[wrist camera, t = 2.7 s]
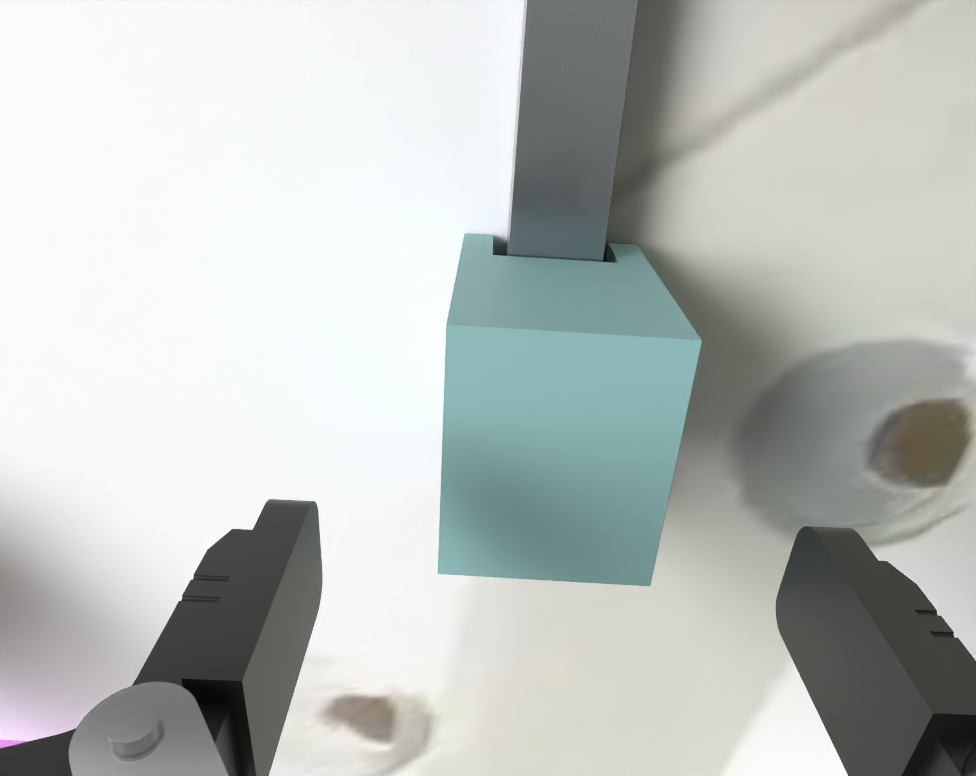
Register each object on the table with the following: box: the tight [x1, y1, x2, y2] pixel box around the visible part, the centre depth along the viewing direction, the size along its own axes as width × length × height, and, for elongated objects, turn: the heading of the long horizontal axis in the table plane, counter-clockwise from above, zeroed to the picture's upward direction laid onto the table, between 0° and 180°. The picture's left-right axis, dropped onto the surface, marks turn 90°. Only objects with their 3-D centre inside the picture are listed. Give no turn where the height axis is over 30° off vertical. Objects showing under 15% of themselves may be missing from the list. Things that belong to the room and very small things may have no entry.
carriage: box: [438, 234, 702, 586], centre depth 17 cm, size 5×6×7 cm
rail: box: [506, 0, 638, 262], centre depth 17 cm, size 4×20×4 cm, turn 177°
